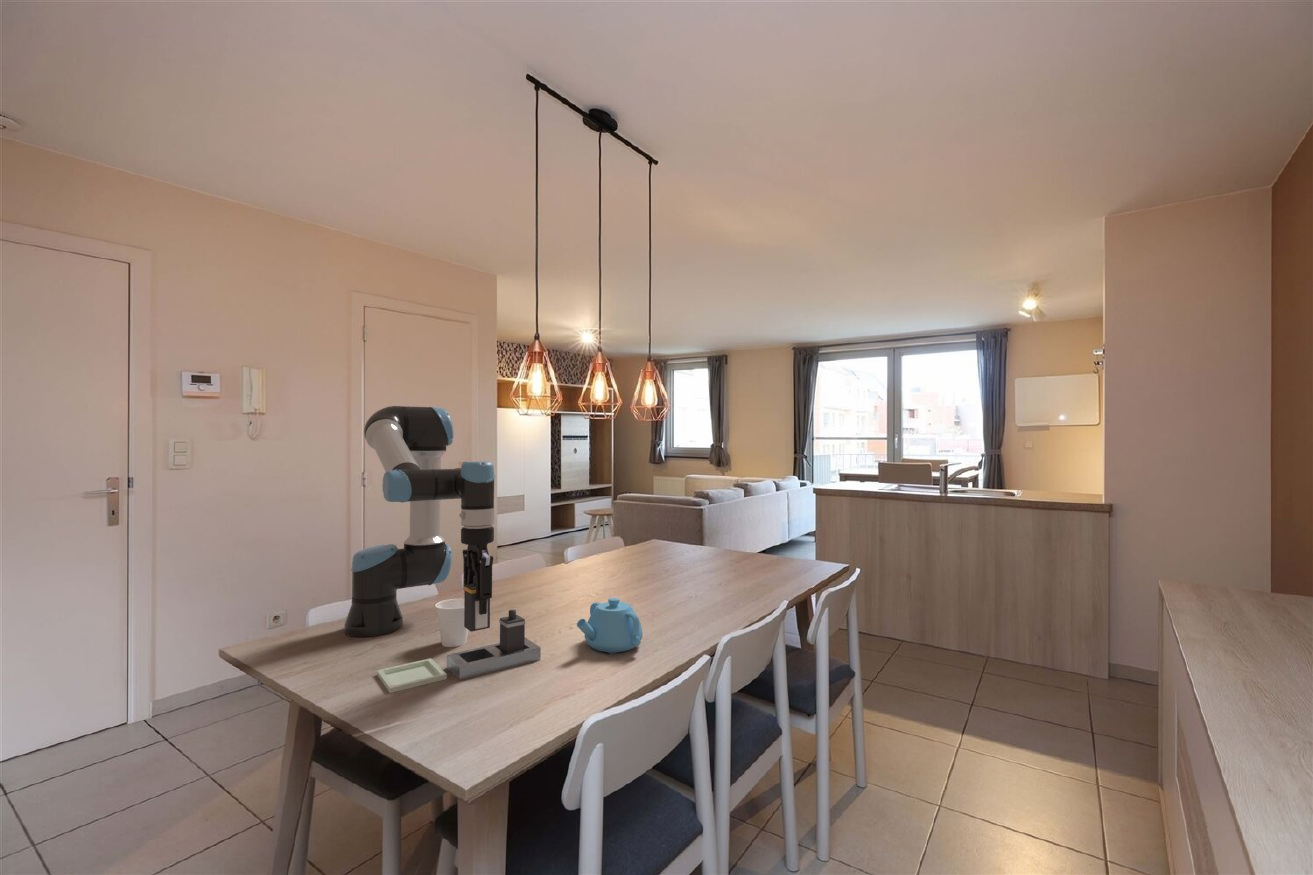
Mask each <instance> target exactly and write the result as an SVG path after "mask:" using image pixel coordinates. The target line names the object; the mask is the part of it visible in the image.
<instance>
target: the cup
mask: <svg viewBox="0 0 1313 875" xmlns="http://www.w3.org/2000/svg"><path fill="white" fill-rule="evenodd" d="M434 607H435V610H436V617H437V622H438V623H437V624H438V629H439V634H440V641H441V642H440V643H441V646H442V647H444V648H455V647H456V648H457V647H461V646H463V645H465V644H466V643H467V641H468V634H469V630H468V629H466V628H465V627H464V598H450V599H449V598H448V599H444V600H440V601H438V602H436V604H435V605H434Z"/></svg>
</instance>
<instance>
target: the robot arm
mask: <svg viewBox="0 0 1313 875" xmlns="http://www.w3.org/2000/svg"><path fill="white" fill-rule="evenodd" d="M363 435H364V436H363V437H364V439H365V441H366V444H368V446H369V447H370V448H371V449H373V450H374V451H375V453H376V455H377V457H378V458H379V462H380V463H381V465H382V467H383V470H384V474H383V476H382V492H383V493H382V495H383V498H384V500H385V501H387V502H389V503H407V502H409V536H408V537H407V538H406V539H405V540H404V541H403V548H399V547H398V546H397V545H396V544H394V543H393V544H392V543H391V544H390V543H388V544H381V545H375V546H371V547H367V548H363V549H360V550H359V551H357V552H356V553H355V554H354V555H353V557H352V563H351V605H350V607H349V610H348V613H347V615H346V619H345V621H344V622H345V623H344V626H343V629H344V630H343V631H344V632H343V633H344V634H345V635H347V636H349V637H354V638H355V637H356V638H365V637H367V638H368V637H375V636H382V635H386V634H390V633H393V632H395V631H398V630H400V629H401V628H402V627H403V624H404V623H403V622H404V620H403V619H404V618H403V614H402V611H401V608H400V605H399V602H398V600H397V590H399V589H407V588H408V589H409V588H413V587H422V586H423V587H424V586H431V585H434V584H439V583H440V584H441V583H443V582H444V581H445V580H446V579H447V578H448V577H449V575H450V572H451V566H452V559H453V556H452V548H451V546H450V545H449V544H448V543H446V539H445V538H444V537H443V536H442V535H441V500H444V501H445V500H459V499H460V508H461V512H460V513H459V518H461V519H460V520H461V521H460V525H461V526H462V528H460V543H461V544H462V545H467V549H466V548H465V549H462V559H463V572H462V573H463V584H462V586H463V587H462V588H463V590H464V585H466V584H473V577H474V576H475V580H476V593H477V598H476V599H474V601H475V629H479V628H484V627H488V599H489V598H490V599H492V598H493V565H494V556H493V555H490V554H489V551H488V544H491V543H493V542H494V540H495V527H494V526H493V525H494V524H495V478H496V475H495V466H494V464H493V462H491V461H464V462H463V463H462V464H461V466H460V467H455V468H443V469H442V457H443V455H444V454H445V453H446V452H447V447H449V446H450V445H452V443H453V441H454V426H453V421H452V418H451V416H450V414H449V412H448V411H447V410H446V409H444V408H441V407H434V406H406V405H405V406H404V405H402V406H401V405H390V406H387V407H383V408H381V409H378V410H377V411H375V412H374V413H372V415H370V417H369V418H368V419H367V420H366V423H365V424H364V430H363Z"/></svg>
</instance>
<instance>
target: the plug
mask: <svg viewBox="0 0 1313 875" xmlns="http://www.w3.org/2000/svg"><path fill="white" fill-rule="evenodd" d="M463 591H464V594H463V595H464V597H463V599H464V627H465V628H466V629H468V632H471V633H472V632H477V631H481V630H485V629H490V628H491V598H489V599H488V627H484V628H479V629H475V601H474V599H476V598H477V593H476V580H475V576H474V577H473V584H466V585H464V589H463Z"/></svg>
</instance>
